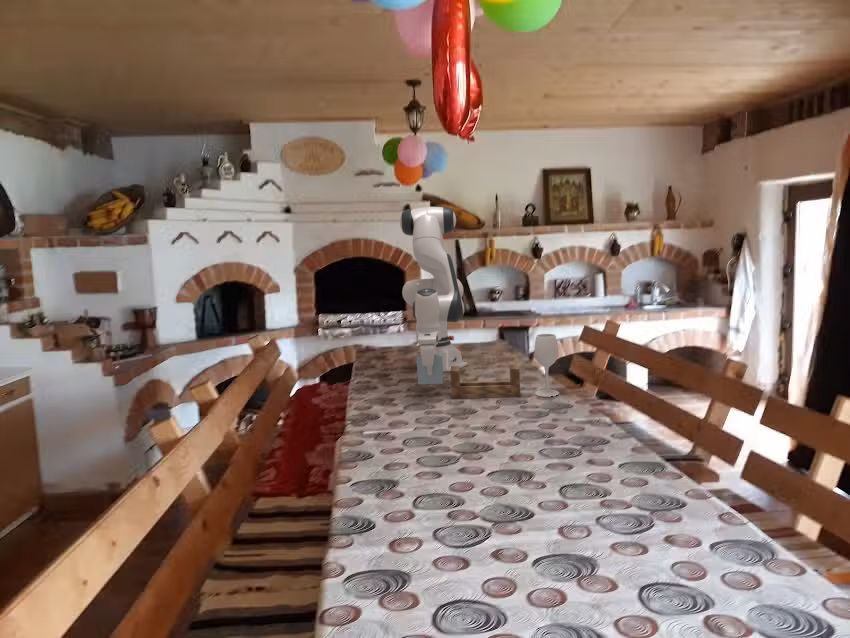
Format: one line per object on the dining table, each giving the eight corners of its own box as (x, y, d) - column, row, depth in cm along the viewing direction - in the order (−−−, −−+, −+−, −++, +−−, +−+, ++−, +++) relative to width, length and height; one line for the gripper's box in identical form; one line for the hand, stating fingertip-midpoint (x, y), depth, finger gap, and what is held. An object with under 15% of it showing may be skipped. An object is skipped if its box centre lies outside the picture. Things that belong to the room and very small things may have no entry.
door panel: (443, 381, 237) (442, 354, 235) (443, 383, 233) (441, 356, 232) (418, 381, 238) (417, 354, 236) (418, 384, 234) (416, 357, 232)
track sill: (518, 391, 236) (518, 364, 235) (520, 397, 228) (519, 368, 227) (452, 393, 238) (451, 366, 237) (451, 398, 230) (450, 371, 229)
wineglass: (558, 390, 234) (557, 332, 232) (561, 396, 226) (559, 336, 223) (533, 391, 235) (532, 333, 233) (535, 397, 227) (534, 337, 224)
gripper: (422, 329, 243) (423, 366, 245) (417, 340, 223) (419, 380, 225) (439, 329, 243) (440, 365, 245) (435, 340, 222) (437, 379, 225)
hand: (430, 372), depth 235 cm, fingers closed on door panel, 3 cm apart
